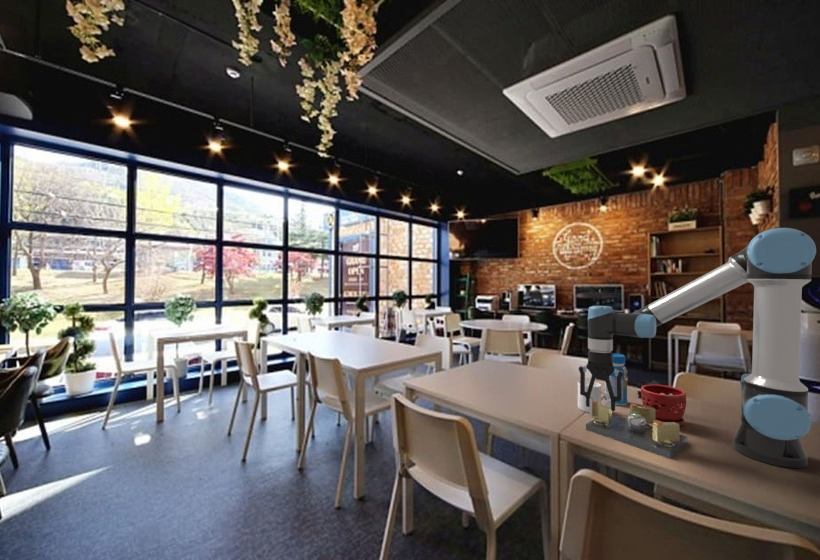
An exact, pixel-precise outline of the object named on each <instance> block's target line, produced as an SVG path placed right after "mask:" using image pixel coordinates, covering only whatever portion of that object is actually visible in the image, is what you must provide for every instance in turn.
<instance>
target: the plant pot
mask: <svg viewBox="0 0 820 560" xmlns="http://www.w3.org/2000/svg"><path fill="white" fill-rule="evenodd" d="M640 391H641V397H642V399H641V400H642V401H641V402H642V405H643V406H642V407H651V408H654V409H655V421H660V422H675V423H677V424H679V425H680V427H681V426H682V425H684V424H685V419H684V418H683V417H684V415H685V411H686V407H687V393H686V392H685V390H682V389H681V388H678V387H674V386H670V385H663V384H660V385H644V386H642V387H641V389H640ZM653 392H656V393H653Z"/></svg>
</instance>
